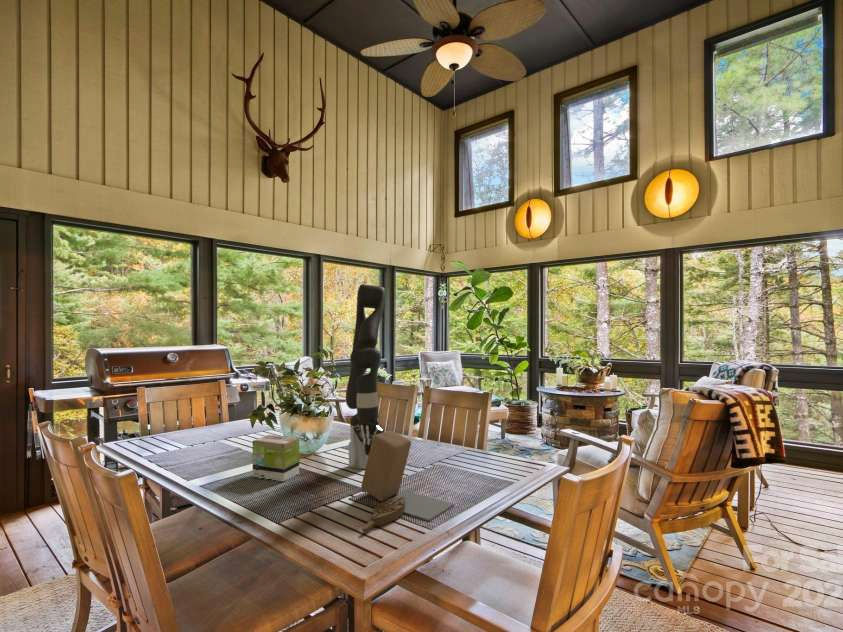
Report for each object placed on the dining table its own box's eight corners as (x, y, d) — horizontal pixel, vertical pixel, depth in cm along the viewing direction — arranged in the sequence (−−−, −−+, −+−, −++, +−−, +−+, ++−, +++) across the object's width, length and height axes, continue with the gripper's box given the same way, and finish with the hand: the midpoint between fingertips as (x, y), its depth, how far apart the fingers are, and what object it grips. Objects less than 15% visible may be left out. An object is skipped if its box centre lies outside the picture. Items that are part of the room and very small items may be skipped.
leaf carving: (353, 532, 128) (353, 522, 128) (392, 501, 148) (392, 493, 148) (375, 537, 125) (375, 527, 125) (412, 505, 144) (412, 496, 144)
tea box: (251, 478, 174) (251, 440, 174) (268, 470, 183) (268, 434, 183) (284, 483, 168) (283, 443, 169) (300, 474, 178) (299, 436, 178)
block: (381, 503, 148) (395, 447, 145) (359, 488, 154) (372, 434, 151) (399, 493, 157) (413, 440, 154) (378, 479, 162) (390, 428, 159)
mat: (378, 506, 146) (378, 504, 146) (405, 492, 157) (405, 490, 157) (429, 521, 134) (429, 519, 134) (454, 505, 146) (454, 503, 146)
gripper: (389, 404, 158) (391, 454, 157) (361, 402, 165) (363, 449, 165) (374, 408, 152) (376, 460, 151) (346, 405, 159) (348, 455, 159)
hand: (369, 454), depth 158 cm, fingers closed
